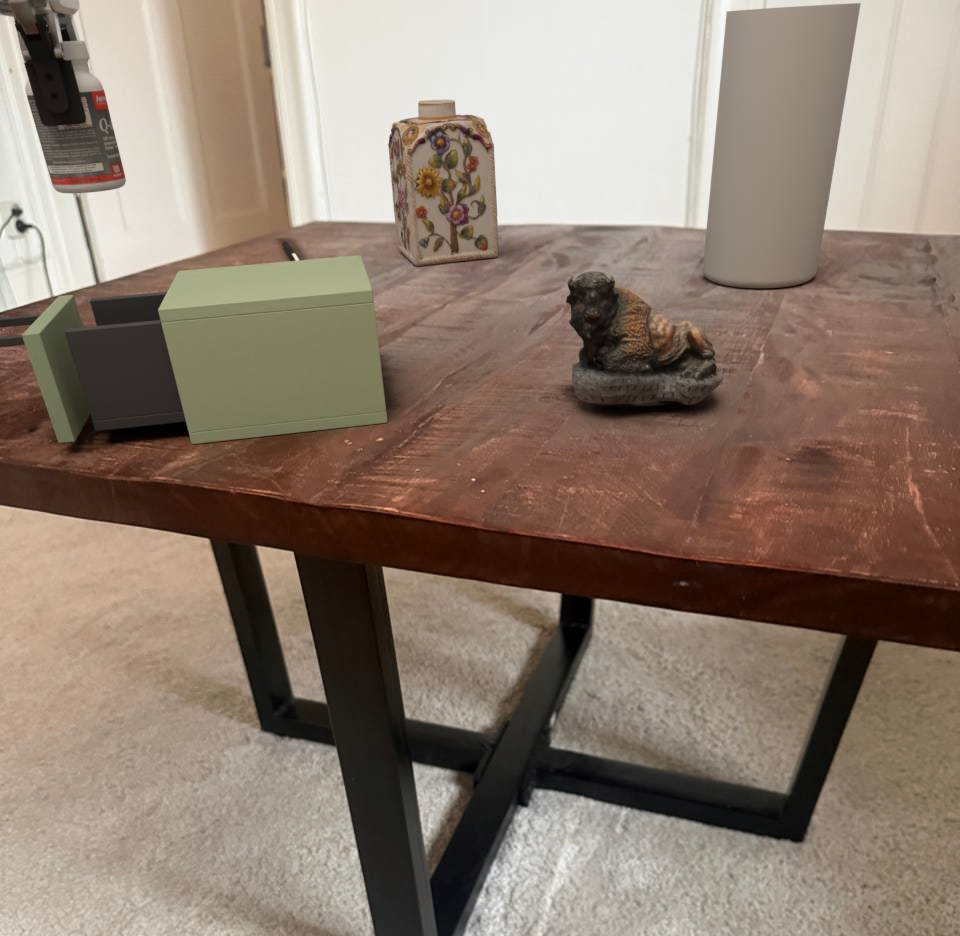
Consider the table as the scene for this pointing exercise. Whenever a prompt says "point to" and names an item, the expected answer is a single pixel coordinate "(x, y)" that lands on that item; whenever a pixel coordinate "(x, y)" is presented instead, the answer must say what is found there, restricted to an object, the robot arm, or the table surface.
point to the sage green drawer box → (274, 348)
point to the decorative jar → (443, 186)
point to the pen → (289, 251)
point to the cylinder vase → (776, 142)
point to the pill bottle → (81, 136)
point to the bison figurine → (635, 349)
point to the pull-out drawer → (101, 364)
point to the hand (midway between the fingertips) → (72, 119)
